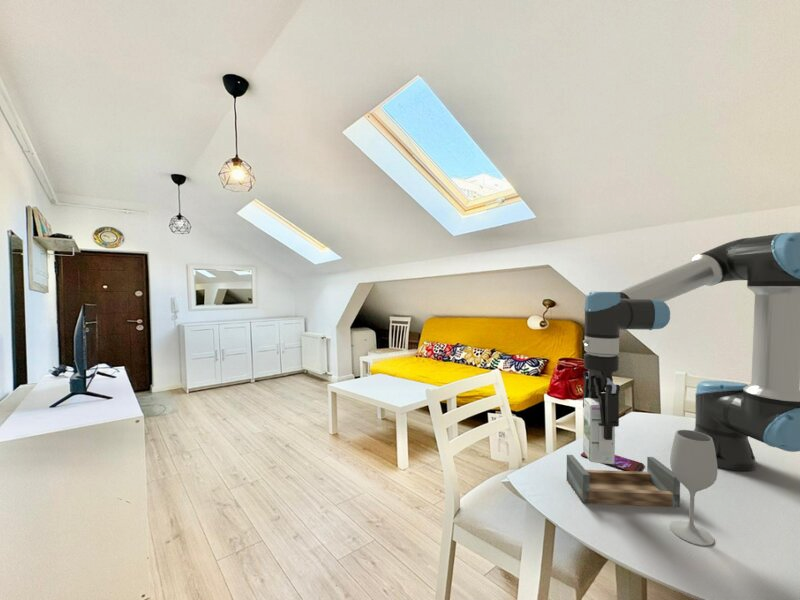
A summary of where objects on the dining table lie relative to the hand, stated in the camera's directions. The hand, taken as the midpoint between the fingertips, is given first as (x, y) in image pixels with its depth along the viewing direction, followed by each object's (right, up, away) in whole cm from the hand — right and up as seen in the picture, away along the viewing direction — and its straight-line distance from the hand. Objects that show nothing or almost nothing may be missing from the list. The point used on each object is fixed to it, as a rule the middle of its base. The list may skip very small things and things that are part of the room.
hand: (598, 444), depth 90 cm
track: (+5, -12, 0) cm, 13 cm away
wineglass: (+11, -13, -15) cm, 23 cm away
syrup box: (0, -4, 0) cm, 4 cm away
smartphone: (+13, -12, +16) cm, 24 cm away
